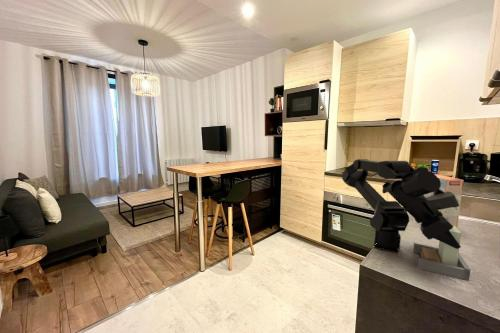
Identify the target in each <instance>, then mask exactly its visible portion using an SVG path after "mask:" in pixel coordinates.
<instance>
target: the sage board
mask: <svg viewBox="0 0 500 333" xmlns="http://www.w3.org/2000/svg"><path fill="white" fill-rule="evenodd" d="M450 232H451V234H452V235H453V237H454V238H455V239H456V241H457V242H458V243H459V245H460V246H461V239H462V237H461V236H462V232H461V231H460V230H459V229H458V227H457V228H456V226H453V228H452V229H451V230H450ZM438 241H439V240H438ZM437 248H438V256H439V258H440V260H441V263H443V264H448V265H452V266H456V267H457V262H458V254H460V248H459V249H456V248H454V247H452V246H449V245H447V244H445V243H443V242H441V241H439V242H438V247H437Z"/></svg>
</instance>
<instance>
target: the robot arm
mask: <svg viewBox="0 0 500 333" xmlns="http://www.w3.org/2000/svg"><path fill="white" fill-rule="evenodd" d="M369 172H371V173H376V174H377V176H379V177H380V178H382V179H385V180H395V181H392V182H388V181H386V182H384V184H382V194H386V193H387V194H389V195H390V196H391V197H392V198H393V199H394V200H386V199H385V198H384V197H383V196H382V195H381V194H380V193H379V192H378V191H377V190H376V189H375V188H374V187H373V186H372V185H371V184H370V183H369V182H368V181H367V177H368V176H369ZM435 174H436V173H433V172H432V171H430V170H429V169H428V167H427V166H420V167H416V169H415V168H414V167H413V166H411V165H410V162H409V161H407V160H382V161H379V160H370V159H366V158H364V159H363V158H359V159H358V158H357V159H355V160H354V161H353V163H352V164H351V165H348V166H347V167H346V168H345V169H344V171H343V172H342V174H341V178H342V179H341V180H342V181H343V182H344V184H346V185H347V186H348V187H351V188H353V189H355V190H356V191H357V192H358V193H359V194H360V195H361V196H362V198H363V199H364V200H365V201H366V202H367V204H368V205H370V207H371V208H372V209H373V210H374V213H373V216H372V217H371V218H370V219H369V226H370V227H371V228H373V229H374V230H375V234H374V236H375V237H374V243H373V247H374V246H375V247H374V248H375V249H379V250H383V251H389V252H393V253H395V254H396V253H399V249H400V248H401V240H402V239H401V238H402V237H401V234H400V232H406V229H407V227H408V225H409V222H410V215H411V216H412V218H413V219H414V220H415V222H416V223H417V224H420V228H419V230H420V232H421V234H422V235H423V236H424V237H425V238H426V239H427V240H432V239H434V240H436V241H441V242H443V243H445V244H447V245H449V246H452V247H454V248H456V249H459V250H460V248H462V246H461V244H460V245H459V243H458V242H457V241H456V239H455V238H454V237H453V235H452V234H451V232H450V230H451V229H452V228H453V226H452V224H451V223H450V222H449V221H448V220H447V219H446V218H445V217H444V216H442V215H443V214H442V213H441V212H440V211H439V210H441V209H446V208H451V207H453V208H455V207H458V206H460V207H461V204H460V205H459V203H458V201H457V199H456V197H455V195H454V194H453V193H452V192H448V191H447V192H443V191H442V190H440V189H439V188H440V186H441V182H440V179H439V178H438V177H437V176H436V175H435ZM432 192H433V195H430V197H425V196H424V195H425V194H428V193H432ZM376 243H377V244H376ZM375 244H376V245H375Z"/></svg>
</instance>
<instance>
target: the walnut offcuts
mask: <svg viewBox="0 0 500 333" xmlns="http://www.w3.org/2000/svg"><path fill="white" fill-rule="evenodd" d="M420 257H421V259H426V260H430V261H434V262H439V263H441V260H440V258H439V256H438V255H437V253H436V251H435V249H430V248H424V247H422V251H421V253H420Z"/></svg>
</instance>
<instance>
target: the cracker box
mask: <svg viewBox="0 0 500 333" xmlns="http://www.w3.org/2000/svg"><path fill="white" fill-rule="evenodd" d="M434 174H435V175H436V176H437V177H438V178H439V179H440V182H441V186H440V188H439V189H440V190H442V191H443V192H447V191H448V192H452V193H453V194H454V195H455V197H456V199H457V201H458V203H459V205H460V206H458V207H455V208H453V207H451V208H446V209H441V210H439V211H440V212H441V213H442V214H443V215H442V216H444V217H445V218H446V219H447V220H448V221H449V222H450V223H451V224H452V226H456V228H457V229H458V226H459V224H458V223H459V218H460V211H461V210H460V209H461V202H462V195H463V188H464V181H465V180H464V179H460V178H456V177H452V176H448V175H444V174H438V173H434ZM430 195H433V192H432V193H428V194H425V195H424V196H425V197H430Z"/></svg>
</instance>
